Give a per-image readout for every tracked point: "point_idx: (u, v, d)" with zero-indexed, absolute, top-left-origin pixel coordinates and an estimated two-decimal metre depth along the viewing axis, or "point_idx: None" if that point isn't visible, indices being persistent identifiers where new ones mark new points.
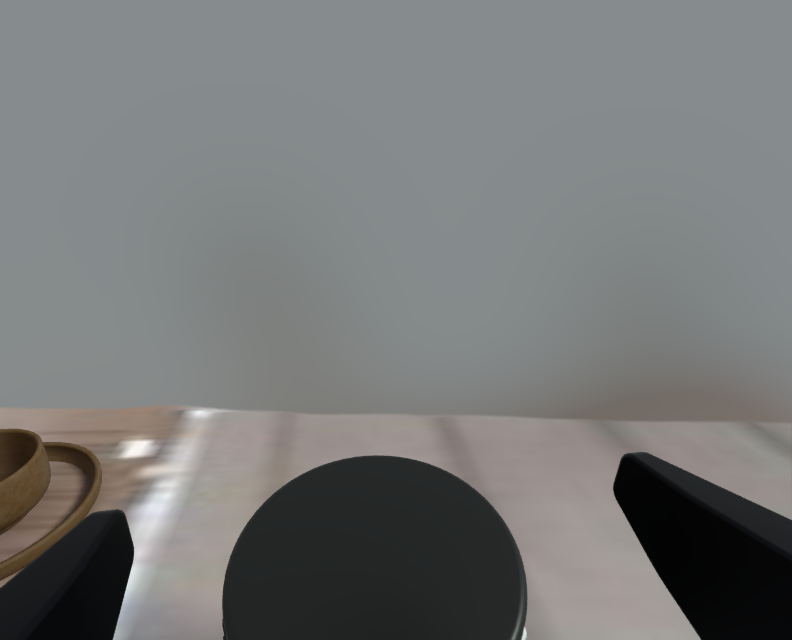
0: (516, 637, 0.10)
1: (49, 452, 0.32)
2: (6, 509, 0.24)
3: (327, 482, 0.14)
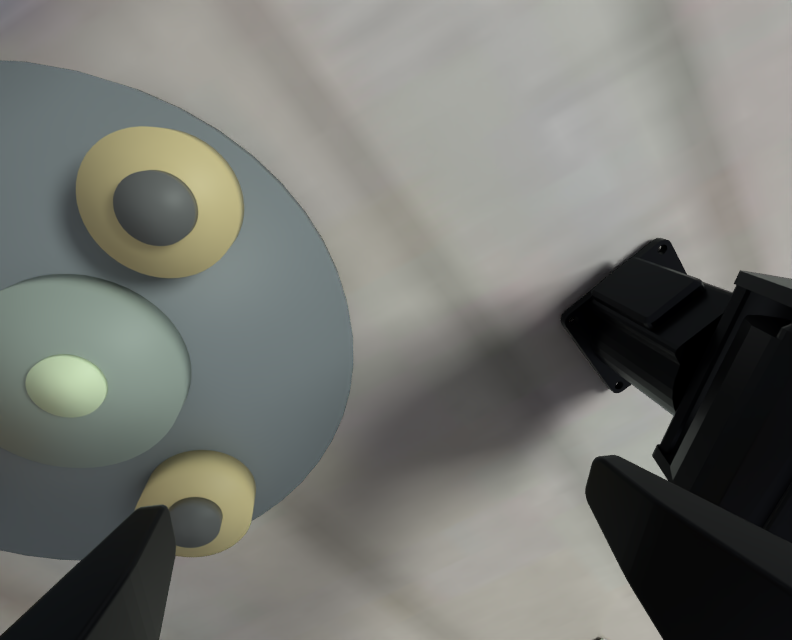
0: None
1: None
2: None
3: None
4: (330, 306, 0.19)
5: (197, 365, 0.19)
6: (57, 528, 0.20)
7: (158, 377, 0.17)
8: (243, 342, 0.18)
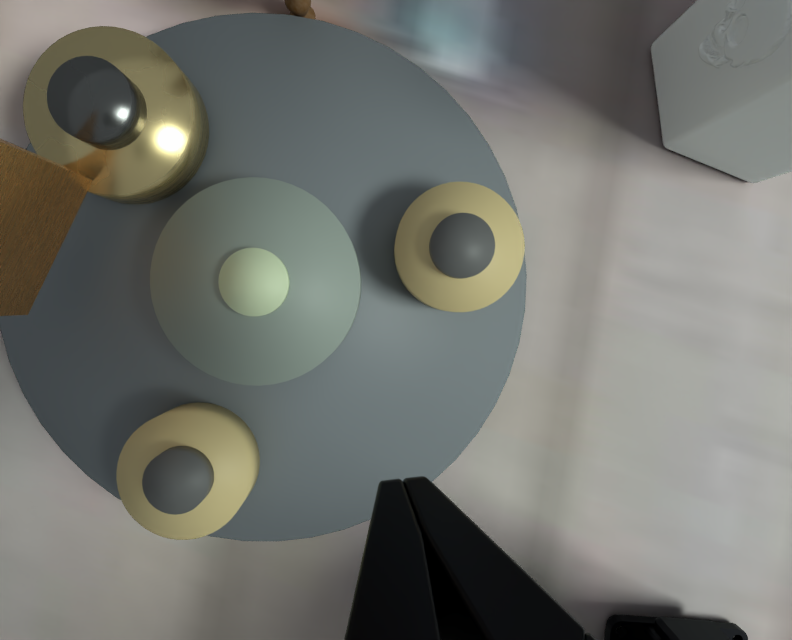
0: None
1: None
2: None
3: None
4: (466, 419, 0.18)
5: (331, 361, 0.18)
6: (64, 367, 0.18)
7: (313, 340, 0.17)
8: (381, 379, 0.18)
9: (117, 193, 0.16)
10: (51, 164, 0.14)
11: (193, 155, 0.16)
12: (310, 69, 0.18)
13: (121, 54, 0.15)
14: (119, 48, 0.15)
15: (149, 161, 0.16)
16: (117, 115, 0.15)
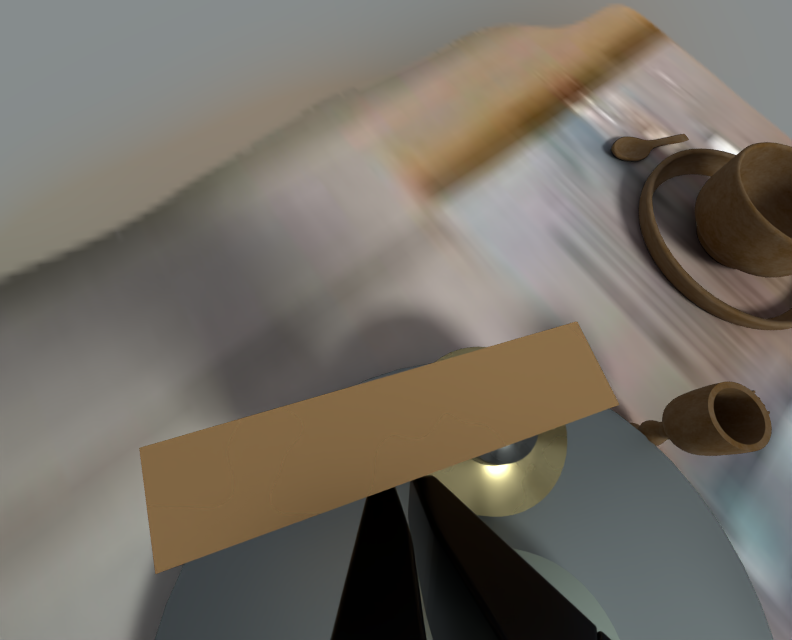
0: None
1: None
2: None
3: None
4: None
5: None
6: (232, 608, 0.14)
7: None
8: None
9: None
10: None
11: None
12: (645, 493, 0.17)
13: None
14: None
15: (488, 493, 0.15)
16: (510, 453, 0.14)
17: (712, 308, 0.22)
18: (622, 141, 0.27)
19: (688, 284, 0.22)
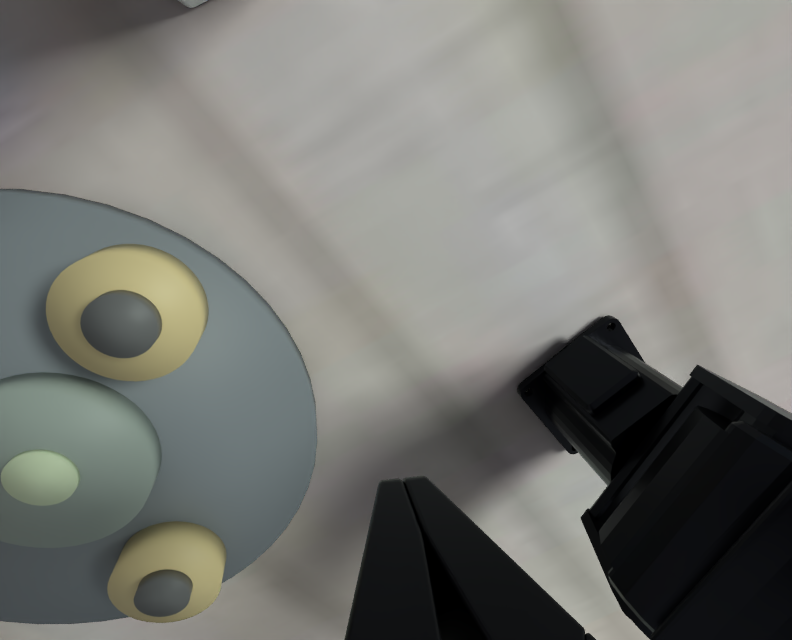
0: None
1: None
2: None
3: None
4: (293, 391, 0.20)
5: (167, 447, 0.20)
6: (34, 596, 0.21)
7: (128, 465, 0.18)
8: (210, 425, 0.20)
9: None
10: None
11: None
12: None
13: None
14: None
15: None
16: None
17: None
18: None
19: None
